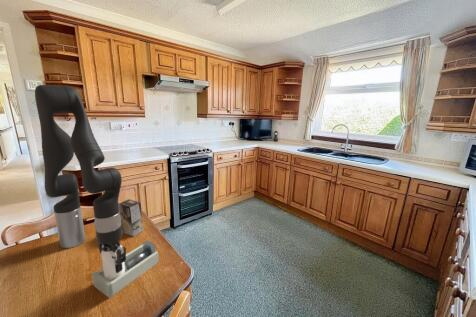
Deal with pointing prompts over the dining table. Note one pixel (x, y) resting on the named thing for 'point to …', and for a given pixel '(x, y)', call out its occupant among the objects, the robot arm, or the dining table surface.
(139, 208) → the coffee box
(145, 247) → the shaft
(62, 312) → the dining table surface
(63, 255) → the dining table surface
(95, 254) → the dining table surface
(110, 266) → the can
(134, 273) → the cradle
